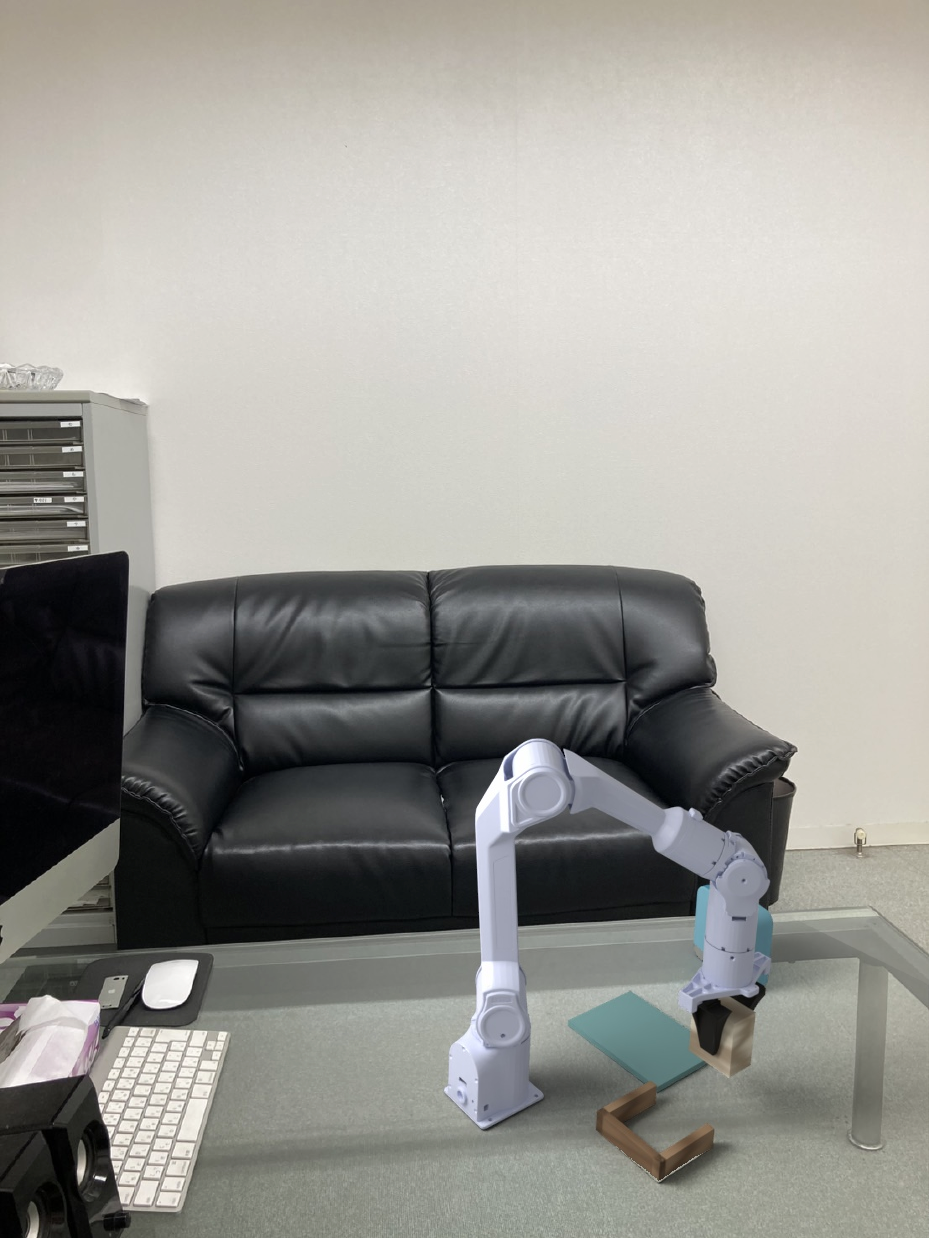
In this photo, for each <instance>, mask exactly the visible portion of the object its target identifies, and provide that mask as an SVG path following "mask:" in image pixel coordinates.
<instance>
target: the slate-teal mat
mask: <svg viewBox="0 0 929 1238" xmlns="http://www.w3.org/2000/svg"><path fill="white" fill-rule="evenodd" d="M567 1026H568V1027H569V1028H570V1029H572V1030H573V1031H575V1032H576V1033H577V1034H578V1035H580V1036H581V1037H583V1038H584V1039H585V1040H586V1041H588V1043H591V1045H593V1046H594V1047H595V1048H597V1049H598V1050H600V1052H602V1053H603V1054H605V1055H606V1056H608V1057H609V1058H610V1059H612V1060H613V1061H614V1062H616V1063H617V1064H618V1065H619V1066H620V1067H622V1068H623V1069H625V1070H626V1071H627V1072H629V1074H631V1075H633V1077H635V1078H636V1079H638V1080H639V1081H641V1083H643V1085H644V1084H646V1083H647V1082H649V1081H652V1082H653V1083H655V1084H656V1085H657V1092H656V1094H657V1093H659V1092H661V1091H663V1090H664V1089H666V1088H667V1087H669V1086H671V1085H673V1084H675V1083H677V1082H678V1081H680V1080H681V1079H683V1078H685V1077H687V1076H689V1075H690V1074H692V1073H693V1072H695V1071H697V1070H699V1069H701V1068H702V1067H705V1066H706V1065H707V1064H708V1063H706V1062H705V1061H704V1060H702V1059H701V1058H699V1057H698V1056H696V1055H695V1054H693V1053H692V1052H690V1051H689V1043H690V1030H691V1029H688V1028H687V1027H686V1026H685V1025H682V1024H681V1023H679V1022H678V1021H676V1019H673V1018H672V1017H670V1016H669V1015H668V1014H666V1013H664V1012H663V1011H661V1010H660V1009H658V1008H657V1007H655V1006H654V1005H653V1004H651V1003H650V1002H648V1001H646V1000H645V999H643V997H640V996H639V995H637V994H636V993H634V992H633V991H631V990H629V991H627V992H625V993H623V994H621V995H619V996H616V997H615V998H612V999H610V1000H608V1001H606V1002H604V1003H602V1004H600V1005H598V1006H597V1005H596V1007H593V1008H591V1009H588V1010H587V1011H585V1012H583V1013H580V1014H579V1015H576V1016H574V1017H572V1018H570V1019H568V1021H567Z"/></svg>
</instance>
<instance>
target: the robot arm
mask: <svg viewBox="0 0 929 1238" xmlns="http://www.w3.org/2000/svg"><path fill="white" fill-rule="evenodd" d="M563 752H564V754H563ZM563 752H562V751H561V748H560V747H559V746H557V744H556V743H554V742H552V741H551V740H547V739H545V738H531V739H528V740H526V741H524V742H523V743H521V744H519V745H518V746H517V747H516V748H514V749H513V750H512V751H510V752H509V753H508V754H506V755H505V756H504V757H503V760H502V762H501V765H500V767H499V770H498V772H497V774H496V775H495V777H494V779H493V780H492V781H491V783H490V785H489V786H488V788H487V790H486V791H485V793H484V795H483V796H482V798H481V800H480V802H479V804H478V805H477V807H476V809H475V829H474V830H475V844H476V845H475V846H476V847H475V848H476V851H475V852H476V869H477V870H476V871H477V893H478V895H477V896H478V912H479V913H478V915H479V934H480V935H479V936H480V937H479V938H480V957H481V963H480V967H478V970H477V972H476V975H475V987H476V1000H475V1001H476V1003H475V1004H476V1010H475V1012H474V1014H473V1015H472V1017H471V1020H470V1026H469V1027H468V1030H467V1031H465V1033H464V1035H462V1036H461V1037H460V1038H459V1039H458V1040H456V1041H455V1042H453V1043H452V1044H451V1046H450V1048H449V1051H448V1052H449V1053H448V1076H447V1077H448V1081H447V1083H448V1085H447V1086H445V1087H444V1094H446V1096H448V1098H450V1099H451V1101H453V1102H454V1103H455V1105H456V1106H458V1107H459V1108H460V1109H461V1111H463V1113H465V1114H466V1116H467V1117H468V1118H470V1119H471V1120H472V1121H473V1122H474V1123H475V1125H477V1127H479V1128H480V1129H482V1130H486V1129H488V1128H490V1127H492V1126H493V1125H496V1124H497V1123H500V1122H501V1121H503V1120H505V1119H507V1118H509V1117H511V1116H512V1115H514V1114H517V1113H518V1112H520V1111H522V1110H525V1109H526V1108H527V1107H530V1106H531V1105H534V1104H536V1103H537V1102H539V1101H541V1100H543V1099H544V1093H543V1092H542V1091H541V1090H540V1089H539V1088H537V1087H536V1086H535V1085H534V1084H533V1083H532V1082H531V1081H530V1059H531V1057H530V1056H531V1037H532V1036H531V1034H532V1031H531V1030H532V1023H531V1021H530V1020H531V1019H530V1014H529V1012H528V999H527V989H526V988H527V975H526V972H525V970H524V969H523V967H522V965H521V963H520V953H519V925H518V924H519V921H518V900H517V899H518V898H517V895H518V894H517V871H516V869H517V868H516V845H515V844H516V843H515V841H516V840H515V839H516V837H517V836H518V835H520V834H521V833H523V831H524V830H526V829H527V828H529V827H532V826H535V825H538V824H540V823H543V822H545V821H548V820H551V819H553V818H554V817H556V816H558V815H560V814H561V813H563V812H564V811H565V810H566V808H567V807H568V810H569V811H568V812H569V814H570V815H575V814H578V813H580V812H583V811H586V810H588V809H590V808H591V809H592V808H595V809H597V810H599V811H601V812H602V813H605V814H606V815H609V816H611V817H613V818H615V819H616V820H619V821H621V822H622V823H625V824H627V825H628V826H631V827H632V828H634V829H637V830H638V831H640V832H643V833H644V834H647V835H648V836H651V840H652V845H653V848H654V850H655V851H656V852H657V853H658V854H660V855H663V856H664V857H666V858H668V859H670V860H671V861H673V862H675V863H676V864H678V865H679V866H682V867H683V868H685V869H687V870H688V871H691V872H692V873H694V874H696V875H698V876H699V877H701V878H704V879H707V880H709V885H710V889H709V898H708V904H707V916H706V928H705V939H704V952H703V962H702V965H701V966H700V967H699V969H698V970H697V971H696V973H695V974H694V975H693V977H692V978H691V979H690V981H689V982H688V983H687V984H686V986H684V987H683V988H681V989H680V990H679V991H678V1003H677V1005H678V1007H681V1008H682V1009H683V1010H684V1011H687V1012H688V1013H689V1014H691V1017H692V1016H693V1018H694V1021H695V1025H696V1029H697V1034H698V1039H699V1044H700V1048H702V1049H703V1050H705V1051H706V1052H708V1053H709V1054H711V1055H712V1056H714V1055H716V1054H717V1052H718V1049H719V1046H720V1041H721V1036H722V1031H723V1028H724V1025H725V1023H726V1021H727V1019H728V1017H729V1015H730V1014H731V1013H732V1011H731V1010H730V1009H728V1008H726V1007H725V1006H723V1005H721V1000H718V998H722V997H728V996H729V997H731V998H733V999H734V1000H736V1001H738V1002H739V1003H741V1004H743V1005H744V1006H746V1007H748V1008H749V1009H751V1010H753V1011H754V1012H755V1010H756V1008H757V1006H758V1005H759V1003H760V1002H761V1000H763V998H764V997H765V996H766V993H767V988H766V985H762V984H760V983H759V982H757V980H758V978H759V976H760V975H761V974H763V975H767V974H768V973H769V974H771V966H772V958H771V957H770V958H769V957H767V956H765V955H764V954H762V953H760V952H756V953H754V952H755V943H756V932H757V922H758V911H759V908H758V905H760V903H759V902H760V899H761V898H762V897H763V896H764V895H765V894H766V893H767V891H768V889H769V886H770V883H771V880H770V879H769V878H768V871H767V868H766V866H765V864H764V862H763V860H762V859H761V858H760V856H759V854H758V853H757V851H756V850H755V848H754V847H753V845H752V844H751V843H750V842H749V841H748V840H747V839H746V838H745V837H743V835H742V834H741V833H739V832H732V831H731V830H727V831H726V832H725V831H723V830H721V829H719V828H718V827H716V826H714V825H713V824H711V823H708V821H705V820H704V819H703V818H704V817H703V815H702V813H701V812H700V811H699V810H697V809H695V808H693V807H691V808H690V809H689V810H687V809H684V808H683V807H681V806H674V807H670V808H665V809H663V808H661V807H660V806H658V805H657V804H655V803H654V802H652V801H650V800H648V798H646V797H644V796H642V795H641V794H640V793H638V792H636V791H635V790H633V789H632V788H630V787H628V786H626V785H625V784H624V783H622V782H621V781H619V780H617V779H615V778H614V777H612V776H611V775H610V774H608V773H606V772H605V771H603V770H602V769H600V768H598V767H597V766H595V765H593V763H590V762H589V761H587V760H586V759H584V758H583V757H581V756H580V755H578V754H577V753H575V752H574V751H571V750H569V749H566V748H563ZM564 755H565V756H564ZM769 974H768V975H769Z"/></svg>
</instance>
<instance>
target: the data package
mask: <svg viewBox="0 0 929 1238" xmlns="http://www.w3.org/2000/svg"><path fill="white" fill-rule="evenodd" d="M709 889H710V884H706V885H703V886H700V887H699V888H698V889H697V892H696V893H697V894H696V908H695V920H694V933H693V943H695V945H697V947H698V948H700V949H701V951H703V952H704V939H705V928H706V916H707V904H708V898H709ZM758 908H759V911H758V922H757V932H756V943H755V952H754V953H756V952H760V953H762V954H764V955H765V956H767V957H769V958H771V953H772V952H771V951H772V940H773V930H774V920H773V917H772V914H771V913H770V911H769V910H768V909H766V908H765V907H763V906H762V905H761V904H759V905H758ZM769 974H770V973H768V974H767V975H763V974H761V975H760V976H759V978H758V980H757V982H759V983H760V984H762V985H764V986H766V985H767V983H768V980H769Z"/></svg>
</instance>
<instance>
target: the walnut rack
mask: <svg viewBox="0 0 929 1238" xmlns="http://www.w3.org/2000/svg"><path fill="white" fill-rule="evenodd" d="M656 1092H657V1085H656V1084H655V1083H653V1082H652V1081H649V1082H647V1083H646V1084H644V1083H643V1084H641V1086H638V1087H637V1088H635V1089H633V1090H632V1091H629V1092H627V1094H625V1095H623V1096H621V1097H619V1098H617V1099H616V1100H613V1101H611V1102H610V1103H609V1104H607V1105H605V1106H603V1107H602V1108H600V1109H597V1111H596V1121H595V1131H597V1132H598V1133H599V1134H600V1135H601V1136H602V1137H603V1138H605V1140H607V1141H609V1143H611V1144H612V1143H613V1144H614V1145H616V1146H617V1147H618V1148H619V1149H620V1150H622V1151H623V1152H624V1153H625V1154H626V1155H627V1156H628V1157H630V1158H632V1160H633V1161H635V1162H636V1163H637V1164H639V1165H640V1166H642V1167H643V1168H644V1169H646V1171H648V1172H650V1174H651V1175H652V1176H654V1177H655V1178H657V1180H658V1181H659V1180H661V1179H663V1178H664V1177H665V1176H667V1175H669V1174H670V1173H671V1172H672V1171H674V1170H676V1169H677V1168H678V1167H680V1166H682V1165H683V1164H685V1163H687V1162H688V1161H689V1160H691V1159H692V1158H694V1157H695V1156H698V1155H700V1154H702V1153H704V1152H705V1151H707V1150H708V1151H710V1150H712V1149H713V1148H714V1138H715V1137H714V1135H715V1128H714V1127H713V1126H712V1125H711V1124H710V1123H708V1122H707V1123H705V1124H704V1125H702V1126H701V1127H699V1128H698V1129H695V1130H694V1131H693V1132H691V1133H689V1134H688V1135H687V1136H685V1137H683V1138H682V1139H680V1140H679V1141H677V1142H676V1143H673V1144H672V1145H670V1146H669V1147H668V1148H666V1149H664V1150H663V1151H661V1152H660V1153H659V1152H658V1151H657V1150H655V1149H654V1148H653V1147H652V1146H651V1145H650V1144H649V1143H647V1142H646V1141H645V1140H643V1139H642V1138H641V1137H639V1136H638V1135H637V1134H636V1133H635V1132H634V1131H633V1130H631V1129H630V1128H629V1127H627V1126H626V1125H625V1124H624V1123H625V1122H627V1121H629V1120H630V1119H632V1118H634V1117H635V1116H637V1115H639V1114H640V1113H642V1112H644V1111H646V1110H647V1109H649V1108H651V1107H653V1106H654V1105H655V1104H656V1103H657V1093H658V1092H657V1093H656ZM613 1144H612V1145H613ZM614 1145H613V1146H614ZM618 1148H617V1149H618ZM619 1149H618V1150H619ZM709 1149H710V1150H709ZM620 1150H619V1151H620ZM708 1151H707V1152H708ZM705 1153H706V1152H705ZM705 1153H704V1154H705ZM625 1154H624V1155H625ZM626 1155H625V1156H626ZM702 1155H703V1154H702ZM627 1156H626V1157H627ZM628 1157H627V1158H628ZM632 1160H631V1161H632ZM633 1161H632V1162H633Z"/></svg>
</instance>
